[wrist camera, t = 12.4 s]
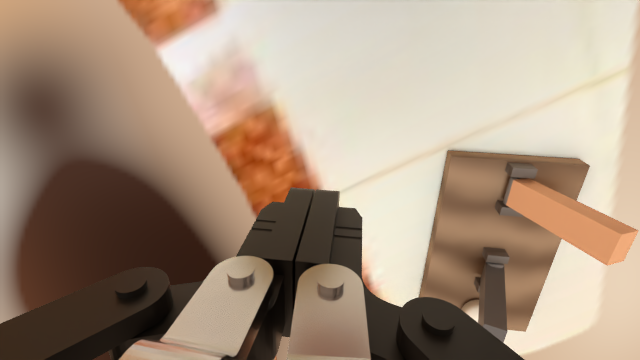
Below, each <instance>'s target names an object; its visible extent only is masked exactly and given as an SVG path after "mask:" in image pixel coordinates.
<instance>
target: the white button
mask: <svg viewBox="0 0 640 360" xmlns="http://www.w3.org/2000/svg"><path fill="white" fill-rule="evenodd" d="M461 310H462V311H464V312H465V313H466V314H467V315H469V316H470V317H471V318H472V319H474V320H475V321H476V322H478V313H479V300H472V301H469V302H467V303H466V304H465V305H464V306H463V307H462V309H461Z"/></svg>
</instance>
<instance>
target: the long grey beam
mask: <svg viewBox="0 0 640 360" xmlns="http://www.w3.org/2000/svg"><path fill="white" fill-rule="evenodd" d="M478 323H479V324H480V325H481V326H483V327H484V328H485V329H486V330H488V331H489V332H490V333H491V334H493V335H494V336H495V337H496V338H498V339H499V340H500V341H501V342H504V339H505V336H506V334H507V313H506V291H505V269H504V264H500V263H490V262H486V261H485V265H484V268H483V272H482V275H481V279H480V294H479V313H478Z"/></svg>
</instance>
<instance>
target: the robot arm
mask: <svg viewBox="0 0 640 360" xmlns="http://www.w3.org/2000/svg"><path fill="white" fill-rule="evenodd" d="M282 336H285V337H290V341H289V348H288V355H287V360H524V359H523V358H522V357H520V356H519V355H518V354H517V353H515V352H514V351H513V350H512V349H510V348H509V347H508V346H507V345H505V344H504V343H503V342H501V341H500V340H499V339H498V338H496V337H495V336H494V335H493V334H491V333H490V332H489V331H488V330H486V329H485V328H484V327H483V326H481V325H480V324H479V323H478V322H476V321H475V320H474V319H472V318H471V317H470V316H469V315H467V314H466V313H465V312H464V311H462V310H461V309H460V308H458V307H457V306H455V305H453V304H452V303H449V302H447V301H445V300H442V299H438V298H433V297H419V298H415V299H412V300H410V301H409V302H407V303H406V304H405V305H404V306H403V307H399V306H396V305H393V304H391V303H388V302H386V301H383V300H381V299H380V298H378V297H376V296H375V295H374V294H372V293H371V292H370V291H369V290H368V289H367V287H366V286H365V284H364V282H363V280H362V217H361V216H360V214H359V213H358V212H357V210H356V209H355V208H343V207H339V191H328V190H316V191H315V190H314V189H301V188H290V191H289V193H288V195H287V197H286V200H285V202H284V203H281V202H272V203H270V204H269V205H267V206H266V207H265V208H263V209H262V210H261V211H260V213H259V215H258V217H257V219H256V221H255V222H254V224H253V227H252V229H251V230H250V232H249V234H248V235H247V237H246V239H245V241H244V243H243V245H242V246H241V248H240V250H239V252H238V254H237V256H236V257H233V258H230V259H227V260H225V261H223V262H221V263H220V264H218V265H217V266H216V267H214V269H213V270H212V271H211V272H210V274H209V275H208V277H207V278H206V279H205V280H204V281H201V282H195V283H188V284H180V285H172V286H170V284H169V279H168V276H167V275H166V273H165V272H164V271H162V270H160V269H157V268H152V267H141V268H135V269H130V270H127V271H124V272H121V273H119V274H116V275H114V276H112V277H109V278H107V279H105V280H102V281H100V282H97V283H95V284H93V285H91V286H88V287H86V288H83V289H81V290H79V291H76V292H74V293H72V294H69V295H67V296H65V297H62V298H60V299H58V300H55V301H53V302H50V303H48V304H46V305H43V306H41V307H39V308H36V309H34V310H31V311H29V312H27V313H24V314H22V315H20V316H18V317H15V318H13V319H10V320H8V321H6V322H3V323H1V324H0V360H92V359H94V358H96V357H97V356H100V355H102V354H103V353H105V352H107V351H109V354H110V357H111V360H277V357H276V354H277V352H278V349H279V345H280V341H281V337H282Z"/></svg>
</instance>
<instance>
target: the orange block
mask: <svg viewBox="0 0 640 360" xmlns="http://www.w3.org/2000/svg"><path fill="white" fill-rule="evenodd" d="M503 203H504V204H505V205H507V206H508V207H510V208H512V209H513V210H515V211H517V212H518V213H520V214H522V215H523V216H525V217H527V218H528V219H530V220H532V221H533V222H535V223H537V224H538V225H540V226H542V227H543V228H545V229H547V230H548V231H550V232H552V233H553V234H555V235H557V236H558V237H560V238H562V239H563V240H565V241H567V242H568V243H570V244H572V245H574V246H575V247H577V248H579V249H580V250H582V251H584V252H585V253H587V254H589V255H590V256H592V257H594V258H595V259H597V260H599V261H600V262H602V263H604V264H605V265H611V264H614V263H618V262H621V261H624V259H625V257H626V255H627V253H628V251H629V249H630V247H631V245H632V243H633V241H634V239H635V237H636V235H637V232H638V230H636V229H634V228H632V227H630V226H628V225H625V224H624V223H622V222H619V221H617V220H615V219H613V218H611V217H609V216H607V215H605V214H603V213H601V212H599V211H596V210H594V209H592V208H590V207H588V206H586V205H584V204H582V203H580V202H578V201H576V200H573V199H571V198H569V197H567V196H565V195H563V194H561V193H559V192H557V191H555V190H553V189H550V188H548V187H546V186H544V185H542V184H540V183H538V182H536V181H534V180H532V179H530V178H519V177H510V179H509V182H508V186H507V189H506V193H505V196H504V200H503Z"/></svg>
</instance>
